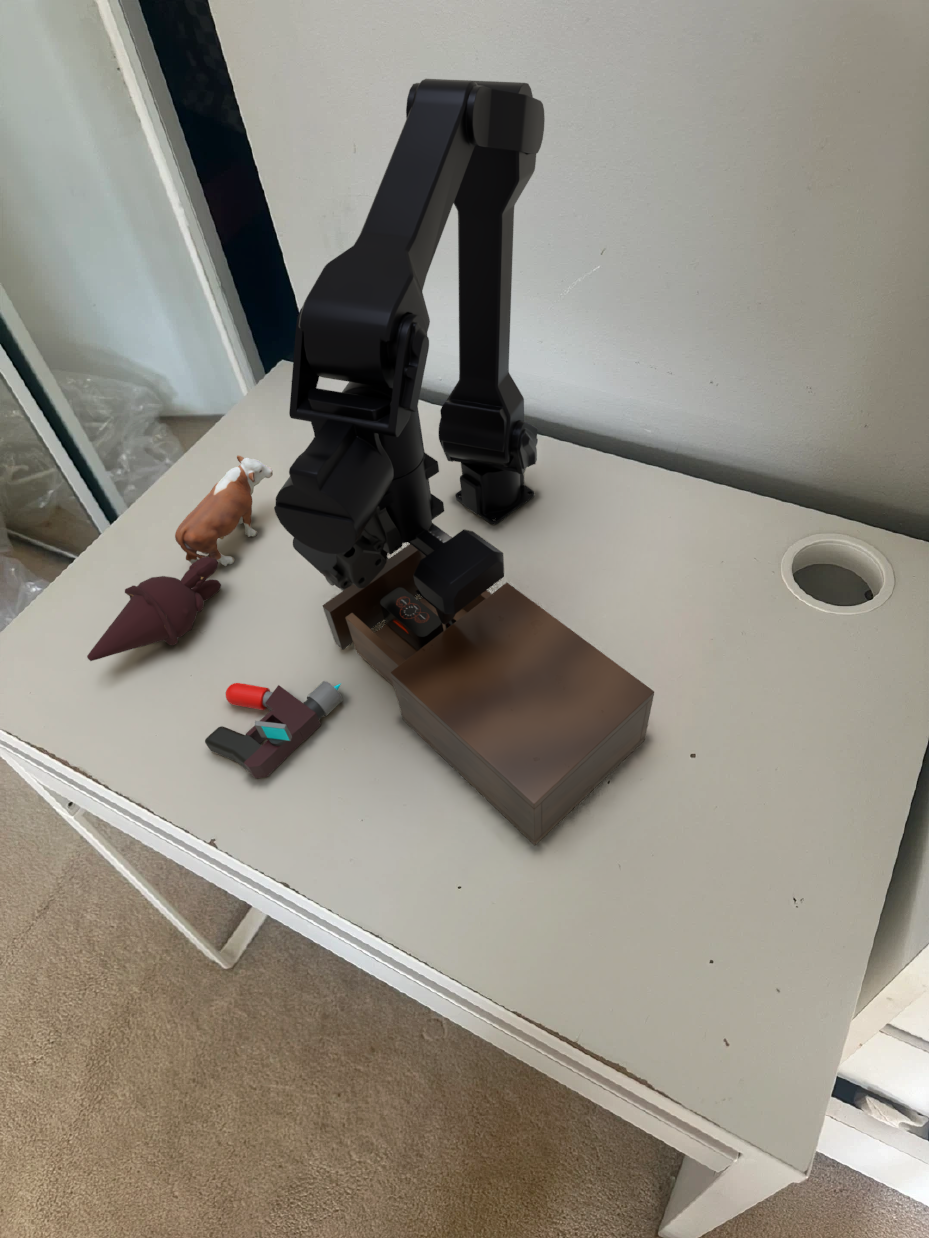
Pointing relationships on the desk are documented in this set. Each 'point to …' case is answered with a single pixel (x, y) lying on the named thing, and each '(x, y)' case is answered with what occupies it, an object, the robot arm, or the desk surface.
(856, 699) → the desk surface
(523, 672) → the cabinet
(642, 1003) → the desk surface
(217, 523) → the bull figurine
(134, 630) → the icecream
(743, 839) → the desk surface
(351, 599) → the drawer
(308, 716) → the toy gun
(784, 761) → the desk surface
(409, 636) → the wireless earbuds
